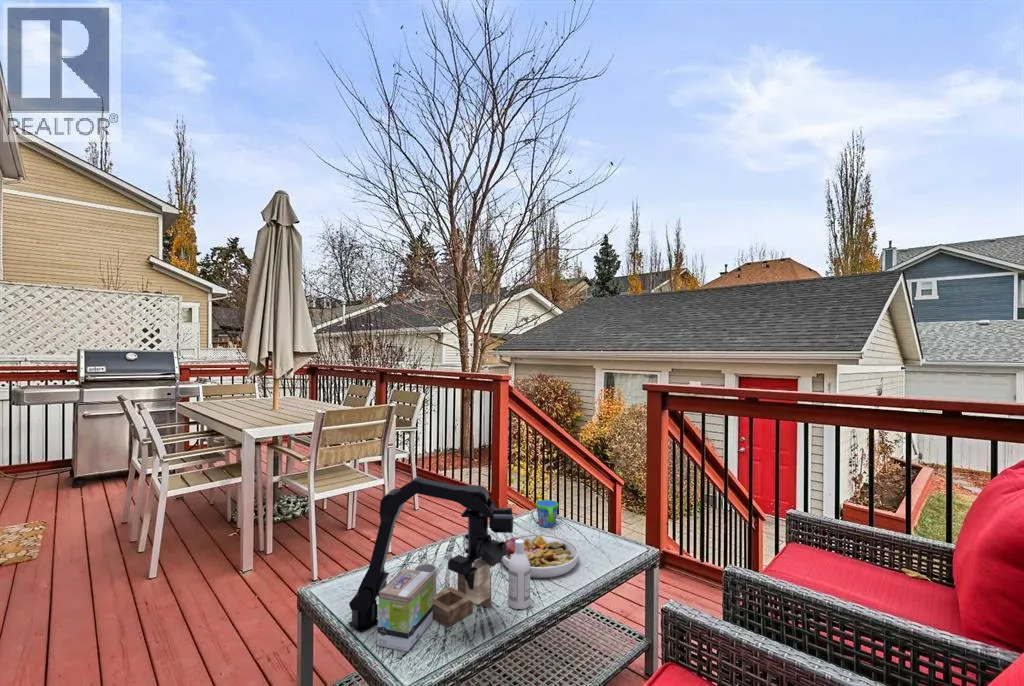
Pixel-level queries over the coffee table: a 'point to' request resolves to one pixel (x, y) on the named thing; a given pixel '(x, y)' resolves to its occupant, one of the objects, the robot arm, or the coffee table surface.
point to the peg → (479, 583)
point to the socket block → (454, 604)
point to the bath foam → (519, 578)
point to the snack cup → (547, 512)
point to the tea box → (405, 609)
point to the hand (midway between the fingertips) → (477, 585)
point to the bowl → (544, 555)
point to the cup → (430, 569)
